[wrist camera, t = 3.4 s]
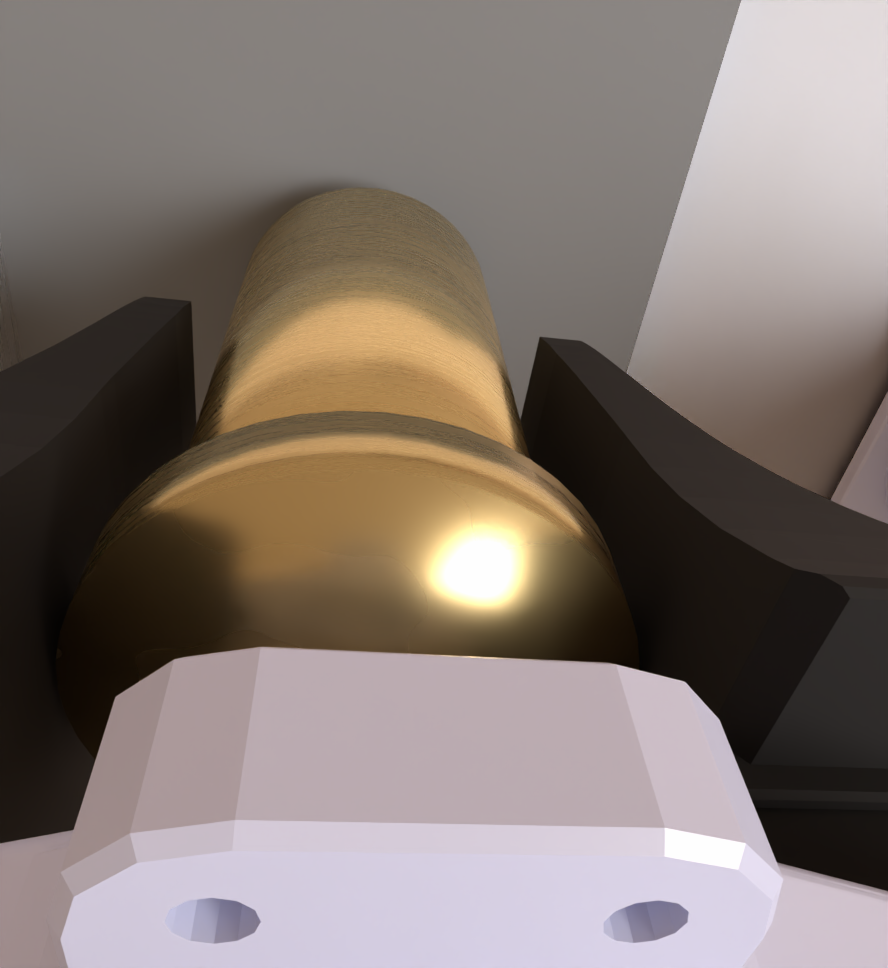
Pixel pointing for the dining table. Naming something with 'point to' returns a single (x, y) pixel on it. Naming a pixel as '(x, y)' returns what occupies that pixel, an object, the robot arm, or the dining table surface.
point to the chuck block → (7, 322)
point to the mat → (348, 148)
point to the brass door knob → (347, 480)
